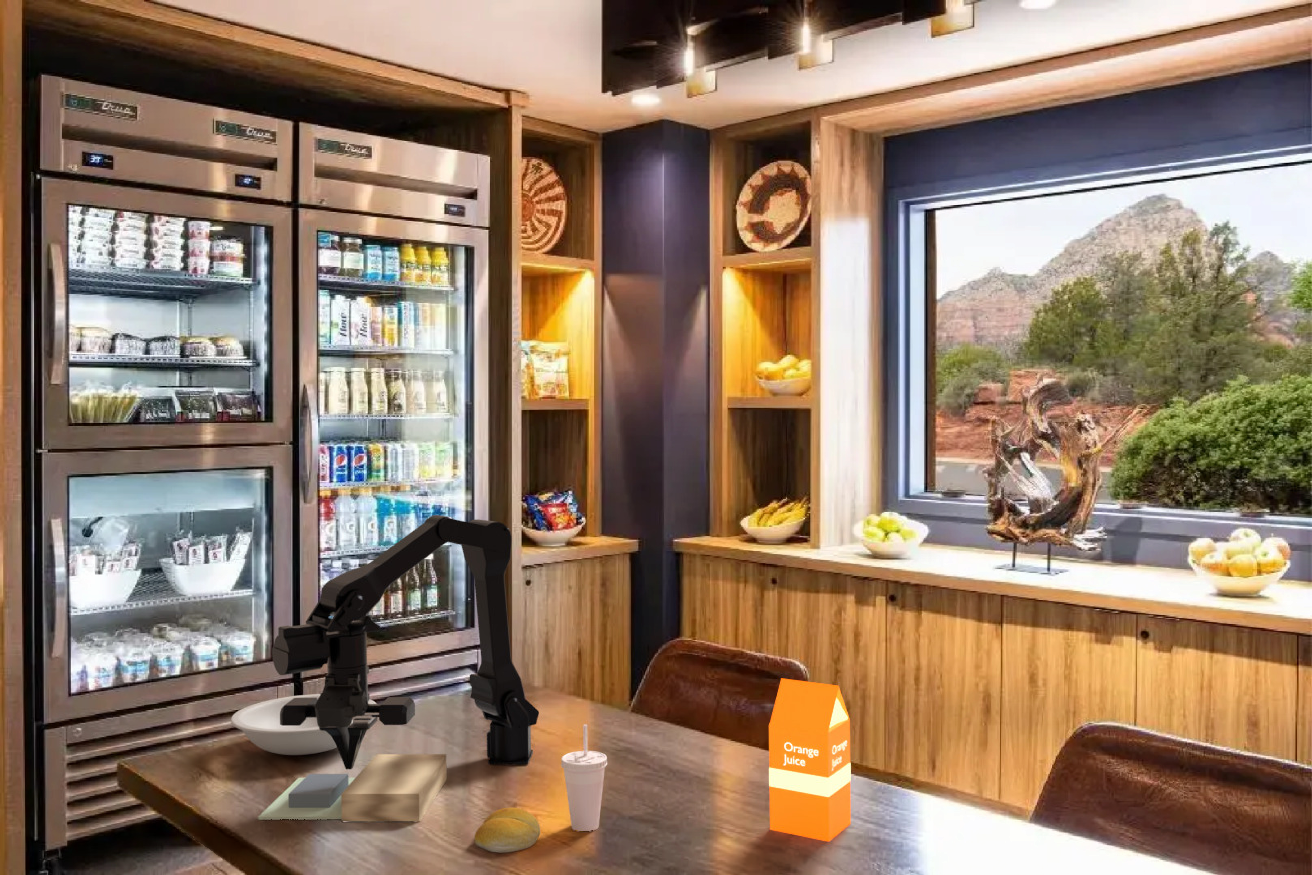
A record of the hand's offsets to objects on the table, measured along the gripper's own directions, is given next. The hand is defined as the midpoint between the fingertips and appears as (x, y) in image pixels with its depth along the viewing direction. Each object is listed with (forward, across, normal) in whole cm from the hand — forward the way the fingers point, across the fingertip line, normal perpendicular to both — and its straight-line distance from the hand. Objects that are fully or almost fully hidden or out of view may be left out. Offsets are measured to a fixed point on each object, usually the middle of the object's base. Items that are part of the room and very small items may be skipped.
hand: (349, 768), depth 170 cm
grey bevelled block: (+2, -5, 0) cm, 5 cm away
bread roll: (+5, +26, -16) cm, 31 cm away
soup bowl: (+5, -15, +25) cm, 30 cm away
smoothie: (+5, +36, -11) cm, 38 cm away
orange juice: (+5, +67, -11) cm, 68 cm away
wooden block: (+5, +7, 0) cm, 8 cm away
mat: (+5, -5, 0) cm, 7 cm away
